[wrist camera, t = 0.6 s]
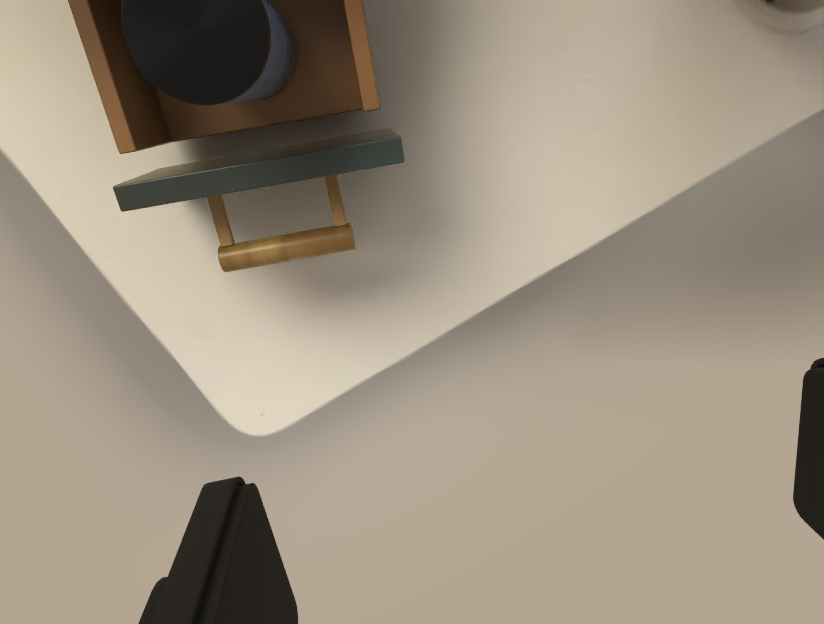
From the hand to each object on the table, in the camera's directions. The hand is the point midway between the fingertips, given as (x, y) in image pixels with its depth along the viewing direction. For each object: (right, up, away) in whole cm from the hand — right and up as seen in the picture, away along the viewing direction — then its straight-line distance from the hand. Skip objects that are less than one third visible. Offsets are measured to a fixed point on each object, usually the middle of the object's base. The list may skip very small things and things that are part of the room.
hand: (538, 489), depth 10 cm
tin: (-11, +17, +20) cm, 28 cm away
